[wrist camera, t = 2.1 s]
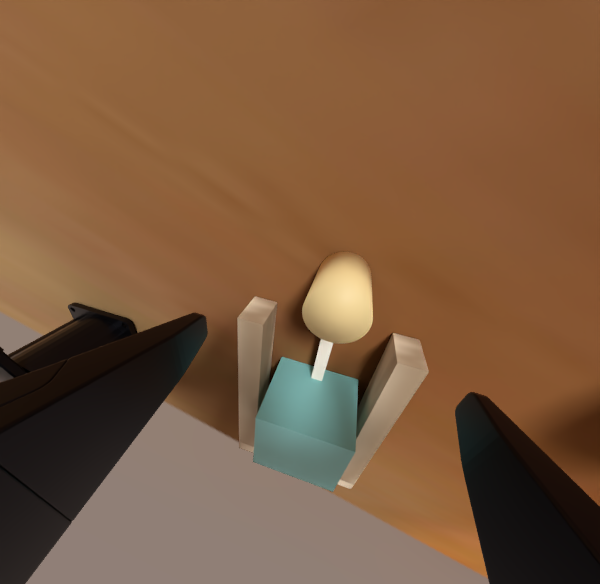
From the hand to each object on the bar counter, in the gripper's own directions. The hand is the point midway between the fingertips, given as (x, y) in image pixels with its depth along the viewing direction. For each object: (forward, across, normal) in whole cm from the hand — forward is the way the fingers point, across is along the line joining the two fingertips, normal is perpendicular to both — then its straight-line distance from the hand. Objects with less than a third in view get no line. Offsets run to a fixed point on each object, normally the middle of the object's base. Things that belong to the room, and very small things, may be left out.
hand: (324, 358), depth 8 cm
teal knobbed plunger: (+6, 0, +6) cm, 9 cm away
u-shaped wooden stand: (+6, 0, +10) cm, 12 cm away
